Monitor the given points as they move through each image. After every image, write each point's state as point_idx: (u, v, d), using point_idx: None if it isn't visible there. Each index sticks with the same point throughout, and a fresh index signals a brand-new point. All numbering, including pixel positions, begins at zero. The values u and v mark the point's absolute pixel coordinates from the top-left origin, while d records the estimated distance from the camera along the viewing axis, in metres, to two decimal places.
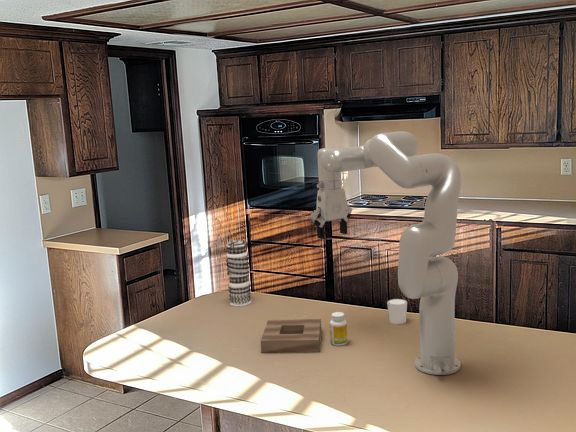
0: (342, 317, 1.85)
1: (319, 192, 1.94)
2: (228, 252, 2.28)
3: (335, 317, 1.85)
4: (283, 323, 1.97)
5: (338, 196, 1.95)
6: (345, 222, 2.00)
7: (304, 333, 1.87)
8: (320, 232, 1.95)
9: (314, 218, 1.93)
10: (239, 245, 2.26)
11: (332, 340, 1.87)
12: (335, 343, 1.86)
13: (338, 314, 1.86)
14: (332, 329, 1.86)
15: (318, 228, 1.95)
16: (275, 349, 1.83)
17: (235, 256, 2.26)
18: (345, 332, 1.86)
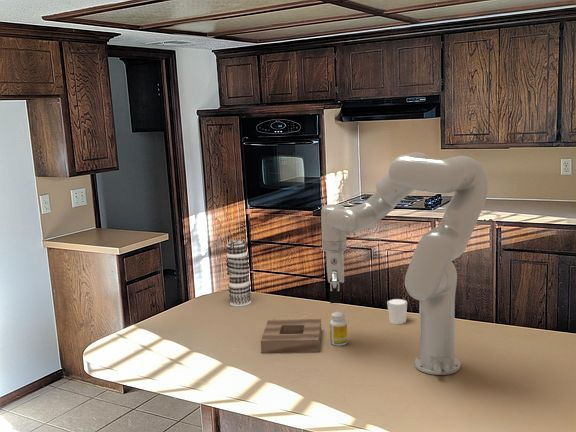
0: (342, 317, 1.85)
1: (333, 254, 1.79)
2: (228, 252, 2.28)
3: (335, 317, 1.85)
4: (283, 323, 1.97)
5: (343, 255, 1.84)
6: (339, 280, 1.90)
7: (304, 333, 1.87)
8: (337, 296, 1.80)
9: (336, 283, 1.77)
10: (239, 245, 2.26)
11: (332, 340, 1.87)
12: (335, 343, 1.86)
13: (338, 314, 1.86)
14: (332, 329, 1.86)
15: (335, 292, 1.80)
16: (275, 349, 1.83)
17: (235, 256, 2.26)
18: (345, 332, 1.86)
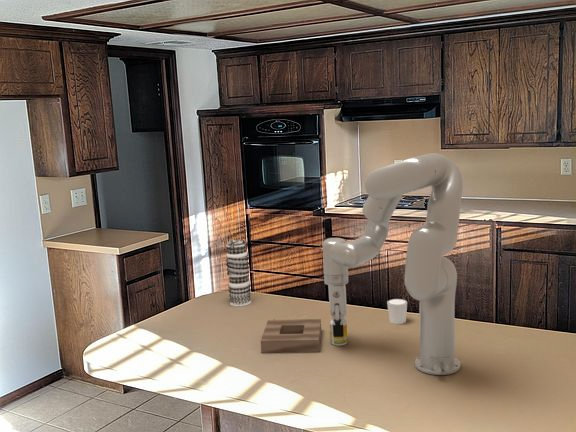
0: (342, 317, 1.85)
1: (335, 287, 1.81)
2: (228, 252, 2.28)
3: None
4: (283, 323, 1.97)
5: None
6: None
7: (304, 333, 1.87)
8: (340, 330, 1.84)
9: (339, 319, 1.80)
10: (239, 245, 2.26)
11: (332, 340, 1.87)
12: (335, 343, 1.86)
13: None
14: (332, 329, 1.86)
15: (338, 326, 1.83)
16: (275, 349, 1.83)
17: (235, 256, 2.26)
18: (345, 332, 1.86)
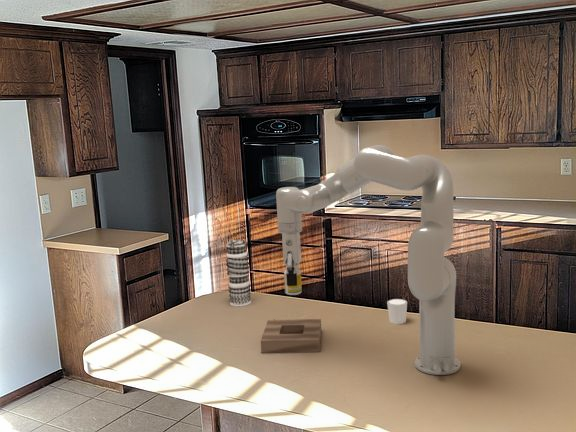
0: (296, 266, 1.86)
1: (288, 235, 1.81)
2: (228, 252, 2.28)
3: None
4: (283, 323, 1.97)
5: (299, 237, 1.86)
6: None
7: (304, 333, 1.87)
8: (293, 279, 1.84)
9: (291, 266, 1.81)
10: (239, 245, 2.26)
11: (286, 289, 1.87)
12: (289, 292, 1.86)
13: (292, 263, 1.87)
14: (286, 278, 1.86)
15: (292, 275, 1.84)
16: (275, 349, 1.83)
17: (235, 256, 2.26)
18: (299, 281, 1.86)
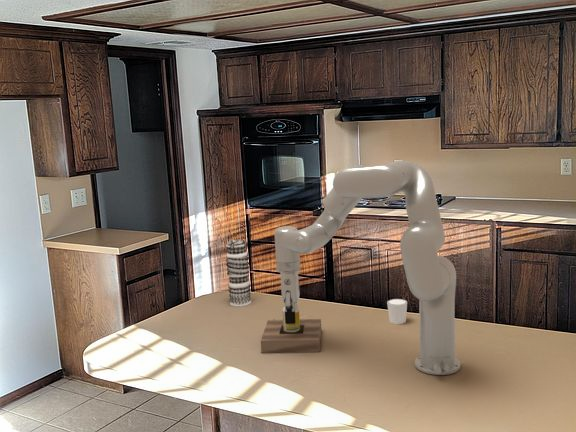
0: (294, 304, 1.88)
1: (286, 275, 1.83)
2: (228, 252, 2.28)
3: None
4: None
5: None
6: None
7: (304, 333, 1.87)
8: (292, 317, 1.87)
9: (290, 305, 1.83)
10: (239, 245, 2.26)
11: (284, 327, 1.90)
12: (287, 330, 1.89)
13: (290, 301, 1.89)
14: (284, 316, 1.89)
15: (290, 313, 1.86)
16: (275, 349, 1.83)
17: (235, 256, 2.26)
18: (297, 319, 1.89)
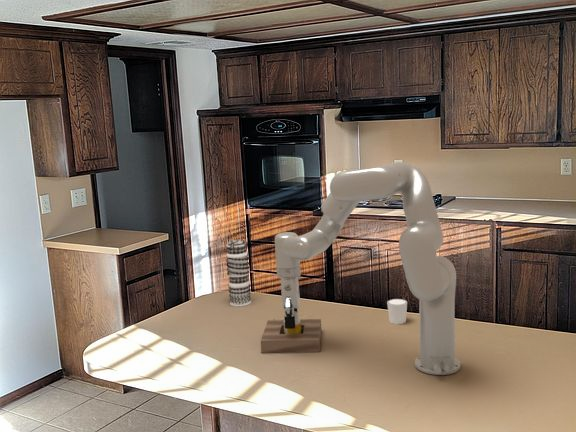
0: (295, 316, 1.89)
1: (286, 280, 1.84)
2: (228, 252, 2.28)
3: None
4: (283, 323, 1.97)
5: None
6: None
7: (304, 333, 1.87)
8: (291, 322, 1.85)
9: (289, 309, 1.82)
10: (239, 245, 2.26)
11: None
12: None
13: None
14: None
15: (290, 318, 1.84)
16: (275, 349, 1.83)
17: (235, 256, 2.26)
18: (299, 331, 1.89)
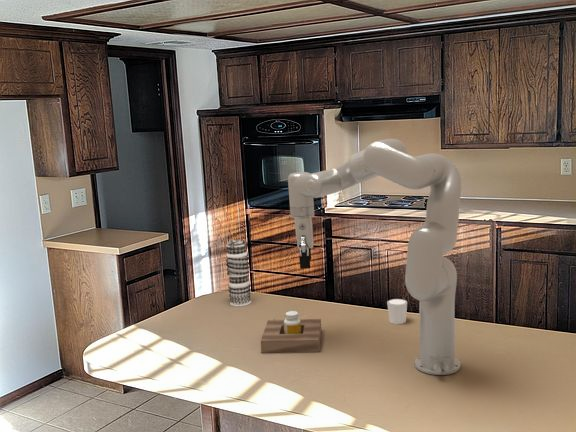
0: (295, 316, 1.89)
1: (301, 219, 1.83)
2: (228, 252, 2.28)
3: (288, 316, 1.88)
4: (283, 323, 1.97)
5: None
6: (309, 248, 1.94)
7: (304, 333, 1.87)
8: (307, 261, 1.84)
9: (305, 247, 1.81)
10: (239, 245, 2.26)
11: None
12: None
13: (292, 313, 1.90)
14: (286, 328, 1.89)
15: (305, 257, 1.83)
16: (275, 349, 1.83)
17: (235, 256, 2.26)
18: (299, 331, 1.89)
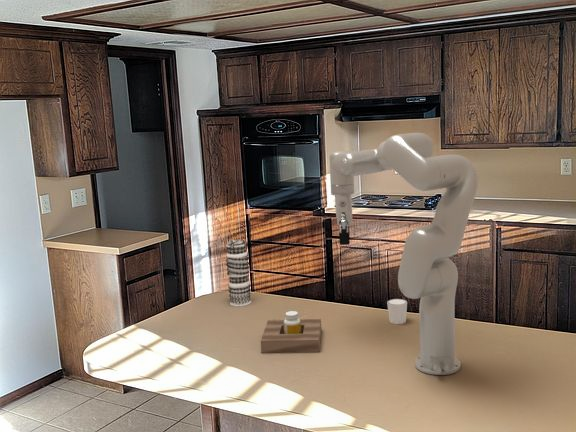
0: (295, 316, 1.89)
1: (341, 197, 1.87)
2: (228, 252, 2.28)
3: (288, 316, 1.88)
4: (283, 323, 1.97)
5: None
6: (347, 226, 1.98)
7: (304, 333, 1.87)
8: (346, 238, 1.89)
9: (345, 224, 1.86)
10: (239, 245, 2.26)
11: None
12: None
13: (292, 313, 1.90)
14: (286, 328, 1.89)
15: (345, 234, 1.88)
16: (275, 349, 1.83)
17: (235, 256, 2.26)
18: (298, 331, 1.89)
